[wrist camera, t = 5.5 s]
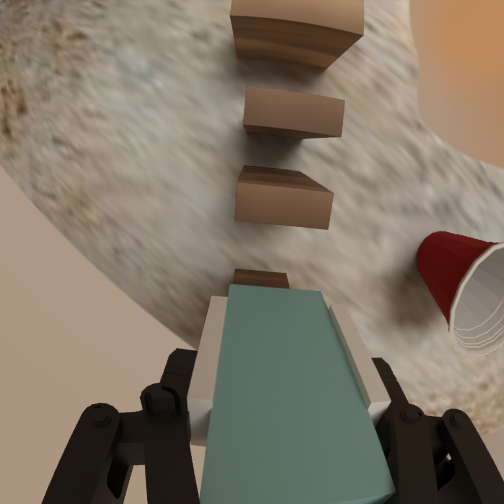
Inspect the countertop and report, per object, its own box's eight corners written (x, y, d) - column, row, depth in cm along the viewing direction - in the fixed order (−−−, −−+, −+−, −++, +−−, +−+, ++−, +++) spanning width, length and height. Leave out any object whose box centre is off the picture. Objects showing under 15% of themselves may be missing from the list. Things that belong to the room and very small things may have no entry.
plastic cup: (443, 185, 27) (521, 214, 15) (481, 250, 29) (544, 294, 18) (376, 257, 29) (433, 319, 18) (423, 313, 32) (473, 375, 21)
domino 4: (313, 321, 17) (368, 516, 6) (227, 315, 17) (201, 523, 6) (320, 291, 16) (396, 491, 5) (229, 283, 16) (198, 502, 5)
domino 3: (235, 268, 30) (225, 344, 19) (286, 273, 30) (303, 349, 19) (233, 286, 31) (224, 367, 19) (283, 291, 31) (298, 371, 19)
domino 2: (244, 165, 26) (237, 182, 15) (299, 171, 26) (333, 193, 15) (242, 187, 27) (234, 220, 16) (297, 192, 27) (328, 229, 16)
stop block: (241, 29, 22) (235, -22, 12) (328, 41, 22) (363, -2, 13) (237, 57, 23) (229, 15, 13) (326, 68, 23) (363, 35, 14)
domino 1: (249, 111, 25) (246, 86, 13) (305, 117, 25) (344, 100, 14) (247, 132, 25) (243, 124, 14) (303, 138, 25) (341, 136, 14)
